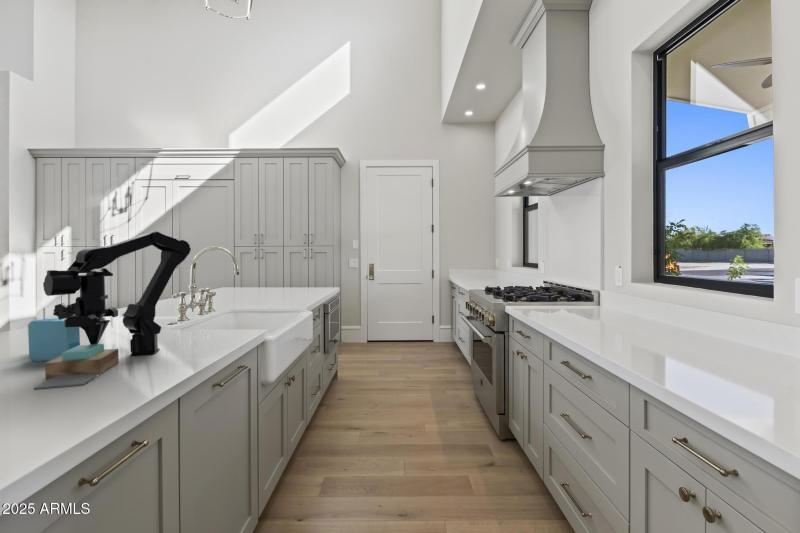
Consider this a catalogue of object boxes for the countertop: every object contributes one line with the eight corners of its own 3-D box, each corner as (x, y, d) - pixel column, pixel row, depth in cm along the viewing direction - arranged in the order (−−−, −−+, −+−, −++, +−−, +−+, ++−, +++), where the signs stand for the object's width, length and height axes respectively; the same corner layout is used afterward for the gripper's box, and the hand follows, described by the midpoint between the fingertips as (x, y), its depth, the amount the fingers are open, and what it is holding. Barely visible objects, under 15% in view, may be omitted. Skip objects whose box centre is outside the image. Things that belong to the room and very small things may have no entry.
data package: (80, 357, 123) (79, 318, 122) (68, 361, 118) (67, 321, 118) (42, 357, 123) (41, 318, 123) (28, 361, 119) (27, 321, 118)
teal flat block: (104, 350, 114) (103, 343, 114) (89, 358, 106) (89, 351, 106) (79, 352, 113) (79, 345, 113) (62, 360, 104) (62, 352, 104)
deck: (118, 362, 117) (118, 348, 117) (100, 374, 105) (100, 359, 105) (69, 365, 113) (69, 351, 113) (45, 378, 102) (45, 363, 102)
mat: (102, 373, 106) (102, 371, 106) (84, 385, 97) (84, 383, 97) (57, 376, 103) (57, 375, 103) (34, 389, 94) (34, 387, 94)
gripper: (75, 290, 121) (77, 341, 122) (39, 296, 103) (41, 356, 104) (118, 289, 124) (119, 339, 125) (89, 295, 106) (91, 353, 107)
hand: (94, 346), depth 115 cm, fingers closed
